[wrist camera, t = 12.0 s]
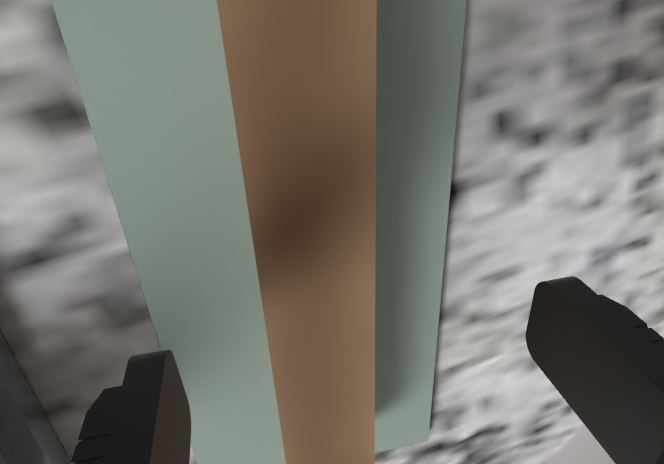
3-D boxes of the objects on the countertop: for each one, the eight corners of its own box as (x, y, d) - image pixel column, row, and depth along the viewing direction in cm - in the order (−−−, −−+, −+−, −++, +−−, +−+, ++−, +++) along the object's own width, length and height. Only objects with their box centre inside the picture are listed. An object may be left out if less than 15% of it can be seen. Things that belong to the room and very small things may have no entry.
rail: (335, -197, 10) (377, -257, 7) (353, 428, 20) (374, 497, 17) (188, -198, 9) (177, -263, 7) (283, 444, 19) (294, 517, 17)
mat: (485, -319, 10) (495, -330, 9) (425, 433, 22) (428, 440, 21) (-50, -346, 8) (-63, -360, 8) (206, 483, 20) (205, 492, 20)
